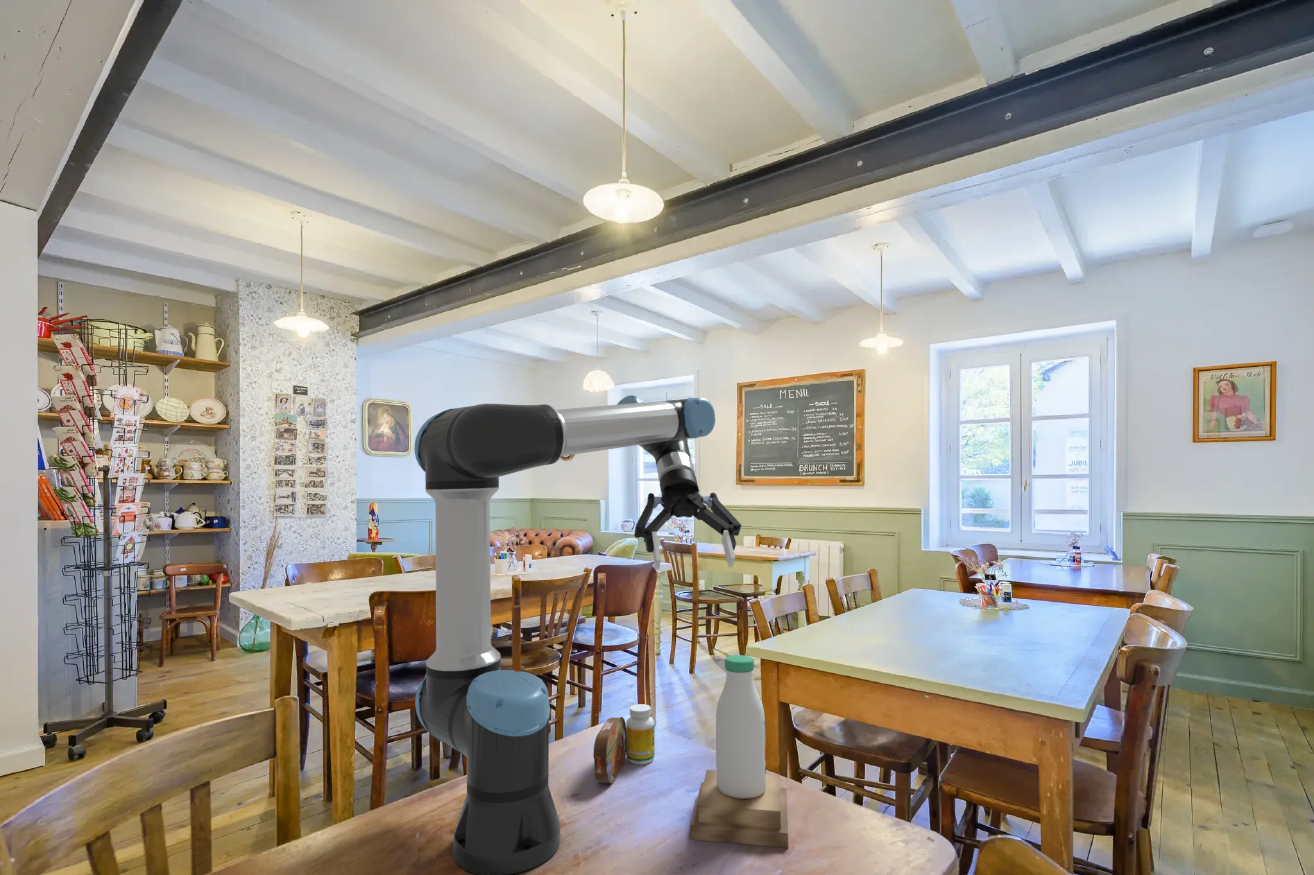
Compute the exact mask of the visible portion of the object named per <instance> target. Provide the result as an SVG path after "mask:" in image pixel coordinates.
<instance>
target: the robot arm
mask: <svg viewBox="0 0 1314 875" xmlns="http://www.w3.org/2000/svg"><path fill="white" fill-rule="evenodd" d="M715 413H716V412H715V409H714V406H713V405H712V403H711V401H709V400H708V399H706V398H704V397H688V398H683V399H682V398H681V399H671V400H670V399H669V400H660V401H659V400H658V401H657V400H656V401H646V402H644V400H643V399H640V398H639V397H638V396H636V395H627V396H625V397H623V398H622V399H621V400H619V401H618V402H617V403H616V404H608V405H598V406H586V407H585V406H584V407H573V408H562V409H561V408H560V409H559V408H558V409H556V408H554V406H552V405H550V404H545V403H543V404H507V403H480V404H476V405H470V406H462V407H457V408H449V409H446V410H443V411H440V412H439V413H437V414H435V415H432V416H431V417H430V418H428V419H427V420H426V421H425V422H423V424H422V425H421V426H420V428H419V430H418V432H417V434H416V435H415V436H416V437H415V440H414V447H413V448H414V455H415V459H416V461H417V464H418V466H419V467H420V468H421V470H422V471H424V473H425V475H424V476H425V477H424V481H425V493H427V494H428V495H429V496H430V497H431V498H432V499H433V500H434V503H435V611H436V612H435V629H436V630H435V634H436V635H435V645H436V646H435V647H436V648H435V651H434V652H433V653H432V654H431V656H429V658H428V659H427V660H426V663H425V664H426V665H425V667H426V668H425V670H426V671H425V672H426V673H425V674H424V677H423V679H422V680H420V683H419V684H418V687H417V690H416V694H415V698H414V699H415V700H414V701H415V704H414V705H415V712H416V715H417V718H418V721H419V722H420V724H421V725H422V727H424V729H425V730H426V731H427V732H428V733H429V734H430V735H431V737H434V738H435V739H436V740H438V741H439V742H442V743H443V744H444V743H445V744H447V745H448V746H449V747H451V748H452V749H454V750H456V751H457V752H459V753H461V754H462V755H463V756H465V757H466V794H465V799H464V802H463V805H462V809H461V811H460V815H459V817H458V821H457V824H456V827H455V830H454V834H453V838H452V841H453V842H452V843H453V844H452V847H453V848H452V855H453V856H452V857H453V860H454V861H455V863H456V864H457V865H458V866H459V867H460V868H462V869H463V870H464V871H465V870H466V871H467V872H469V873H473V874H476V875H513V874H518V873H522V872H525V871H528V870H531V869H533V868H534V869H535V867H538V866H540V865H542V864H543V863H545V862H546V861H547V860H549V859H551V857H552V856H553V855H555V853H556V852H557V851H558V849H559V847H560V844H561V822H560V818H559V814H558V812H557V808H556V806H555V802H554V800H553V796H552V793H551V790H550V786H549V764H550V762H549V752H550V750H549V748H550V747H549V745H550V744H549V743H550V740H549V739H550V737H549V736H550V733H549V732H550V728H549V727H550V720H549V719H550V715H551V709H550V707H551V705H550V700H549V691H548V688H547V686H546V684H545V682H544V681H543V680H542V679H541V678H539V677H538V676H536V675H534V674H533V673H531V672H526V671H522V670H521V671H516V670H514V669H502V665H501V663H502V662H501V660H502V658H501V653H500V652H499V651H498V650H497V649H496V648H495V647H494V646H493V645H492V628H491V627H492V623H491V622H492V620H491V619H492V618H491V617H492V616H491V615H492V612H491V610H492V608H491V604H492V603H491V602H492V601H491V598H492V597H491V594H492V593H491V518H490V517H491V515H490V514H491V507H490V506H491V505H490V504H491V499H492V497H493V496H494V495H495V494H496V493H497V492H498V491H499V490H500V477H503V476H507V475H510V474H511V475H512V474H514V473H518V472H522V471H525V470H529V469H533V468H538V467H542V466H547V465H553V464H555V463H558V462H559V460H560V459H561V457H564V456H565V457H566V456H573V455H579V454H587V453H592V452H600V451H606V450H613V449H621V448H627V447H634V446H639V447H641V448H642V449H643V450H645V452H647V454H650V456H652V457H653V458H654V460H655V465H656V470H657V476H658V481H659V488H660V493H661V494H660V495H661V496H655V494H654V493H652V492H650V493H649V492H648V494H647V500H646V505H645V507H644V509H643V510H642V512H641V514H640V515H639V516H640V517H639V518H638V521H637V523H636V524H635V528H634V534H633V535H634V536H633V537H634V538H636V539H639V538H643V542H644V543H645V550H646V552H647V553H652V559H653V560H652V561H653V565H654V570H660V566H661V563H662V562H661V561H662V559H661V558H662V557H661V552H660V546H659V540H658V534H657V532H658V531H659V530H660V529H661V528H662V527H663V526H664V525H665V524H666V523H667V522H668V521H670V519H671V518H672V517H675V518H677V519H678V518H683V517H684V518H693V517H694V518H695V519H696V520H698V521H702V522H704V523H705V524H706V525H708V526H709V527H710V528H712V529H713V530H714V531H716V532H717V533H719V534H720V535H721V536H722V537H721V545H722V548H723V551H724V555H725V559H726V562H727V566H728V568H733V567H734V563H735V560H736V555H735V550H736V545H737V541H736V538H735V536H736V537H738V536H739V535H740V532H741V528H742V523H740V522H739V520H738V519H737V518H736V517H735V516H734V515H733V514H732V513H731V511H729V510H728V508H726V507H725V506H724V504H722V502H721V501H720V500H719V498H718V496H717V494H716V493H715V492H711V493H710V494H709V495H705V496H703V495H702V494H701V492H700V489H699V484H698V480H697V477H696V476H697V475H696V471H695V469H694V463H693V460H692V457H691V452H690V447H689V442H688V439H697V438H703V437H707V436H708V435H710V434H711V433H712V431H713V430H714V428H715V425H716V414H715ZM659 505H660V506H661V507H662V508H663V509H662V510H661V511H660V512H659V513H658V514H657V516H655V518H654V519H652V521H651V522H650V523H649V520H650V518H651V516H652V514H653V511H654V509H656V508H658V506H659ZM647 524H648V525H647Z"/></svg>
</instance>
